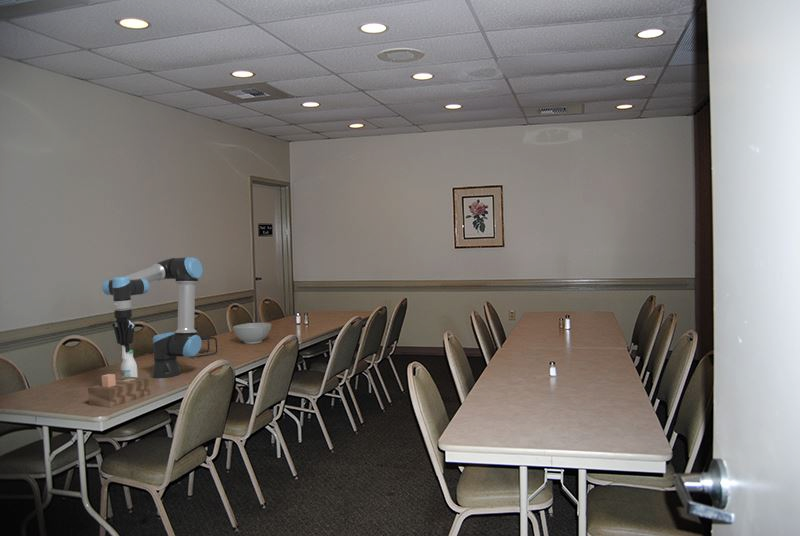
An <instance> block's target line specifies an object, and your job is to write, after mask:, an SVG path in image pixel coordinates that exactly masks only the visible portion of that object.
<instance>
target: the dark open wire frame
mask: <svg viewBox="0 0 800 536" xmlns="http://www.w3.org/2000/svg"><path fill="white" fill-rule="evenodd" d="M194 329H195V330H196V331H197V332H198V327H197V325H196V324H195V323H194ZM199 336H200V339H201V341H207V350H205V351H199V352H198V353H201V354H200V355H195V356H192V357H191V358H190V359H195V358H194V357H198V358H203V357H202V356H204V357H208V355H209V356H214V355H216V354H217V353H218V352H219V351H218V350H219V349H218V339H217V338H216V337H214V336H208V335H206V334H205V335H204V334H203V335H199ZM210 340H214V341H215V351H214V352H212V353H208V352H210ZM205 352H206V354H205ZM207 353H208V354H207Z"/></svg>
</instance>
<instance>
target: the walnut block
mask: <svg viewBox="0 0 800 536" xmlns="http://www.w3.org/2000/svg"><path fill="white" fill-rule="evenodd" d="M126 379H135V380H132V381H129V382H127V381H123V380H126ZM115 380H116V385H115V386H111V387H102V383H100V384H97V385H94V386H89V387H87V391H88V392H87V393H88V405H89V406H95V407H104V408H109V409H110V408H113V407H117V406H120V405H122V404H125V403H129V402H132V401H136V400H138V399H142V398H144V397H147V396H151V395H150V394H151V392H150V391H151V390H150V379H149V377H125V378H121V377H120V378H117V379H115Z"/></svg>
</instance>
